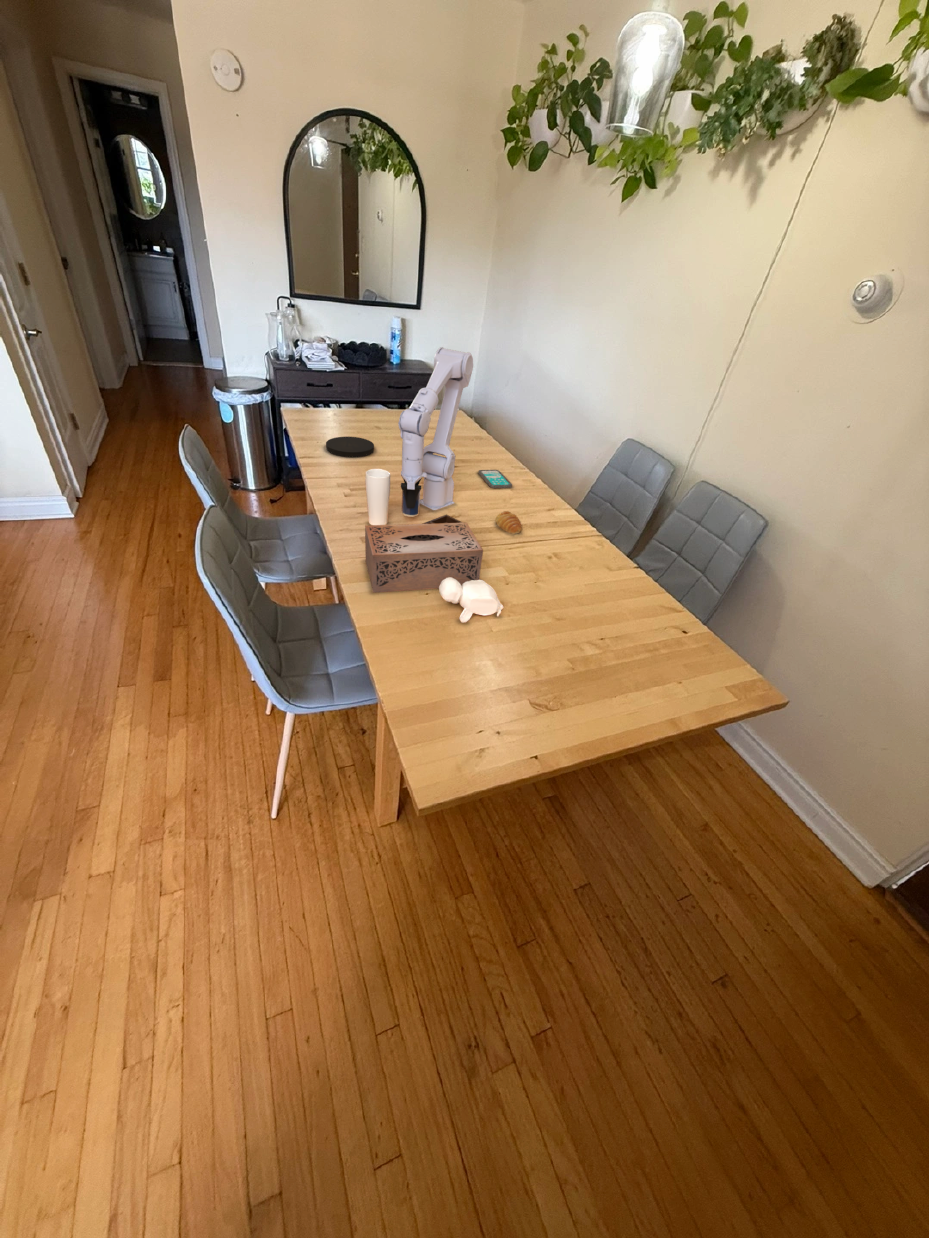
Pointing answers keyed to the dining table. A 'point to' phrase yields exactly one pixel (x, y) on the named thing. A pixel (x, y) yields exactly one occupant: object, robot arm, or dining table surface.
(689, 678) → the dining table surface
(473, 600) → the white turtle figurine
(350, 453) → the wireless charger
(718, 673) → the dining table surface
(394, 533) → the tissue box cover
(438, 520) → the cup holder
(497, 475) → the smartphone
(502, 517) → the pastry
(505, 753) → the dining table surface
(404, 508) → the cup
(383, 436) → the dining table surface
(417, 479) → the robot arm
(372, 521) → the drinking glass
